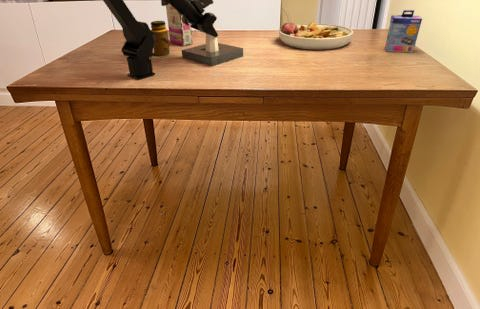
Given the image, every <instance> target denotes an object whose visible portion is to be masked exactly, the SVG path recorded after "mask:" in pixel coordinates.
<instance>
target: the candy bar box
mask: <svg viewBox="0 0 480 309" xmlns="http://www.w3.org/2000/svg"><path fill="white" fill-rule="evenodd" d="M165 9H166V10H165V11H166V18H167V26H168V34H169V36H168V37H169V42H170V43H172V44H175V45H179V46H182V47H185V46H190V45H193V34H192V28H191V27H190V26H191V24H190V23H188V22H187V23H188V24H189V26H187V25H185V24H184V23H183V22H182V15H179V14H178V11H177V10H175V9H174V8H173V7H172V6H171V5H170V4H168V5H165Z"/></svg>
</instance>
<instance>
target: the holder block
mask: <svg viewBox="0 0 480 309" xmlns="http://www.w3.org/2000/svg"><path fill="white" fill-rule="evenodd" d="M205 47H206V43H204V44H200V45H197V46H191V47H188V48H184V49H181V58H182V60H187V61H191V62H194V63H197V64H202V65H205V66H210V67H215V66H218V65H222V64H225V63H227V62H230V61H233V60H236V59H239V58H242V57H244V47H240V46H236V45H235V46H234V45H229V44H226V43H222V42H221V43H220V42H218V48H219V51H216V52H208V51H205Z"/></svg>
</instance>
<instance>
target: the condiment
mask: <svg viewBox="0 0 480 309" xmlns="http://www.w3.org/2000/svg"><path fill="white" fill-rule="evenodd" d="M150 26H151V27H150V30H151V31H152V32H153V33H154V34H153V37H154V39H155V42H154V46H153V53H152V57H150V59H151V58H152V59H158V58H163V57H168V56H169V57H170V56H174V53H171V48H170V43H169V42H170V39H169V36H168V34H169V31H168V29H167V26H166V22H165V20H154V21H151V22H150Z"/></svg>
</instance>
